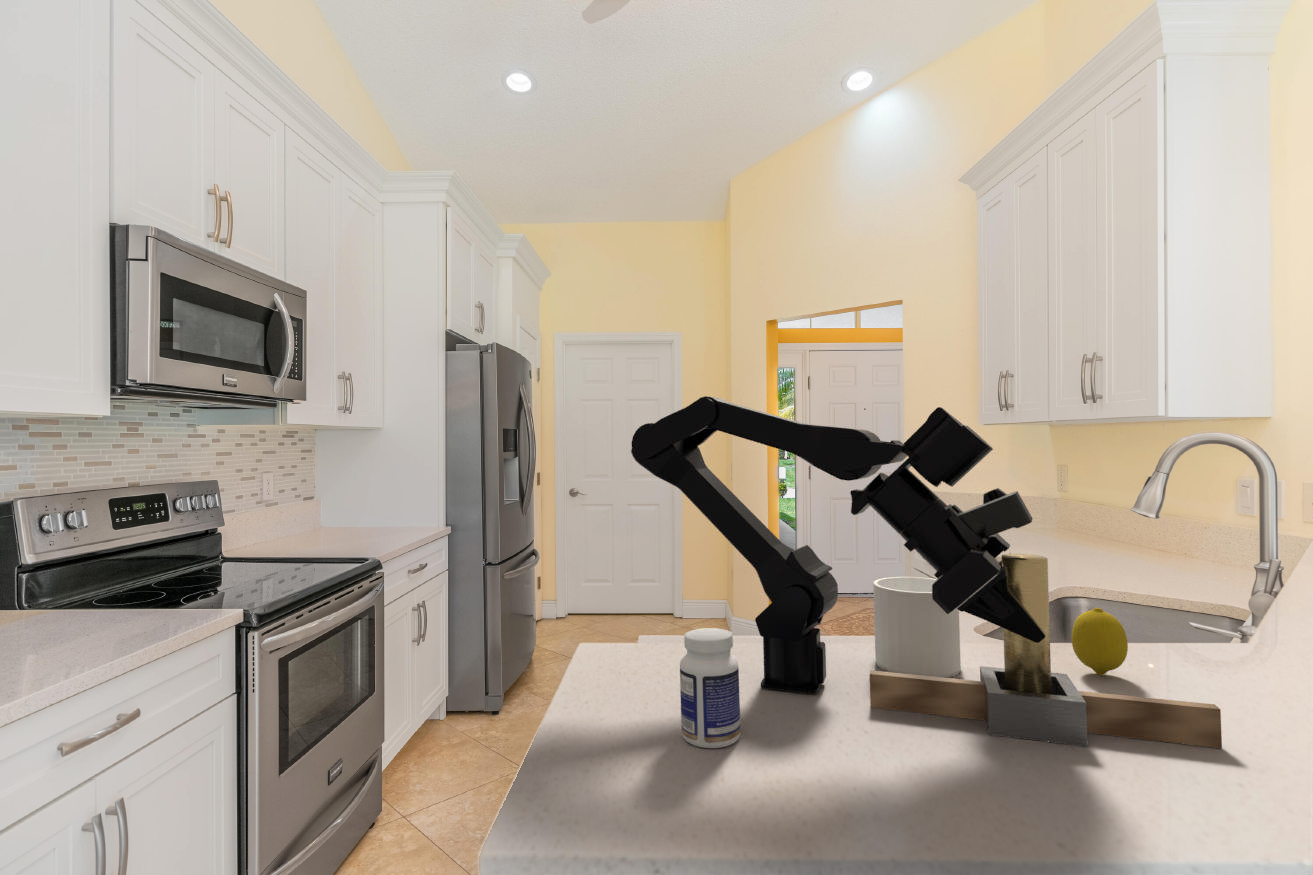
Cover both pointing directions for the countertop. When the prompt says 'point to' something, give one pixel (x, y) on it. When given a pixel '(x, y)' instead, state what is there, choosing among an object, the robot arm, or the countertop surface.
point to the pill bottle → (709, 689)
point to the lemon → (1099, 641)
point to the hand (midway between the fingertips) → (1042, 634)
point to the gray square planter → (1035, 710)
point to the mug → (914, 629)
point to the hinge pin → (1030, 586)
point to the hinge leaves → (1102, 709)
